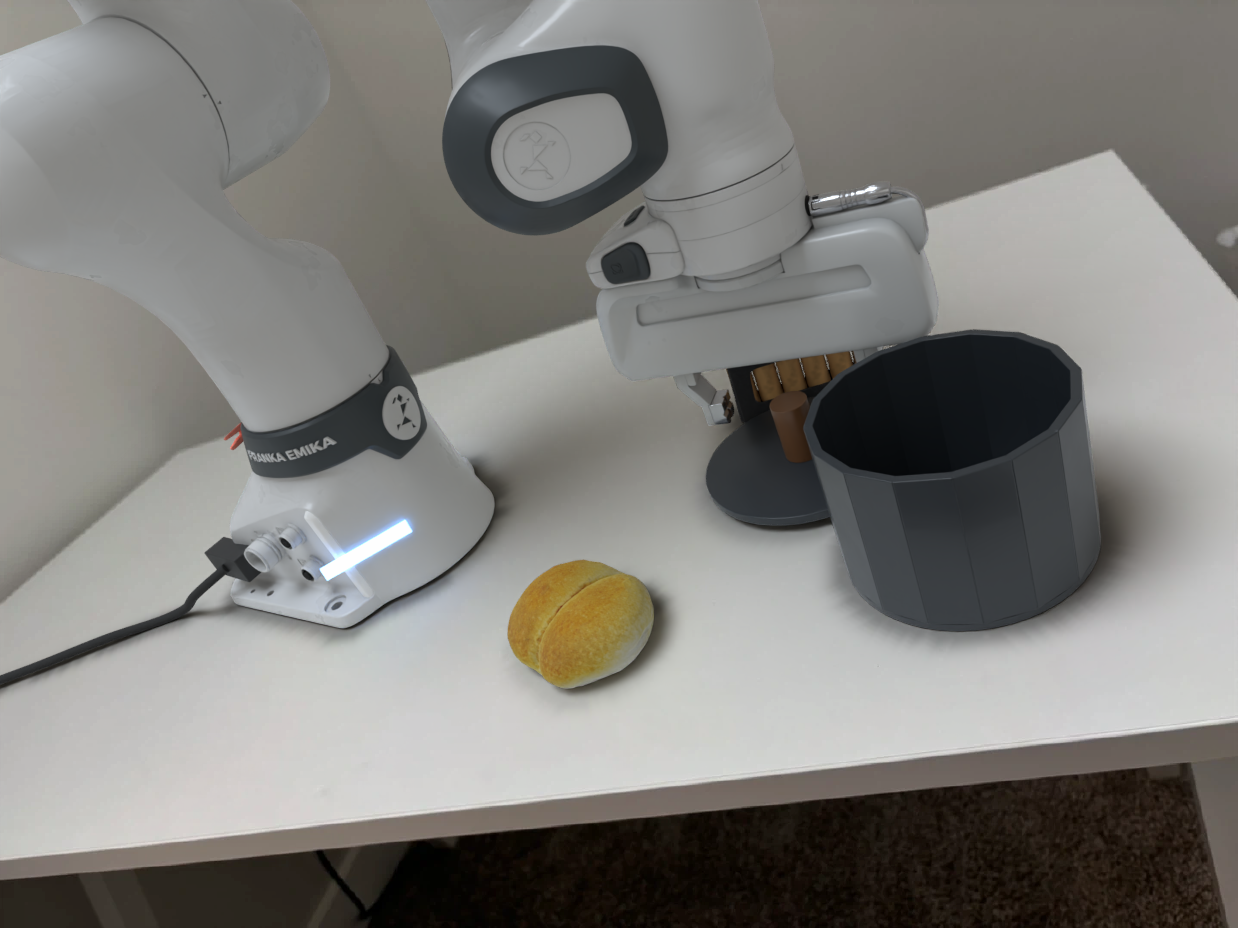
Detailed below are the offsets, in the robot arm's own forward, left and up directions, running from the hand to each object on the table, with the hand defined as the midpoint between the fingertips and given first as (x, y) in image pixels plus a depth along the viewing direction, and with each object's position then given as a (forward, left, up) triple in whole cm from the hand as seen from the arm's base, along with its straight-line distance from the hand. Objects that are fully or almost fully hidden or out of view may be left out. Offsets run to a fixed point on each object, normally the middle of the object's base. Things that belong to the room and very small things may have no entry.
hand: (790, 412), depth 62 cm
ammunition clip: (-1, +8, -4) cm, 9 cm away
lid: (0, -1, -3) cm, 3 cm away
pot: (+11, -9, -4) cm, 15 cm away
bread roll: (-10, -16, -4) cm, 20 cm away
